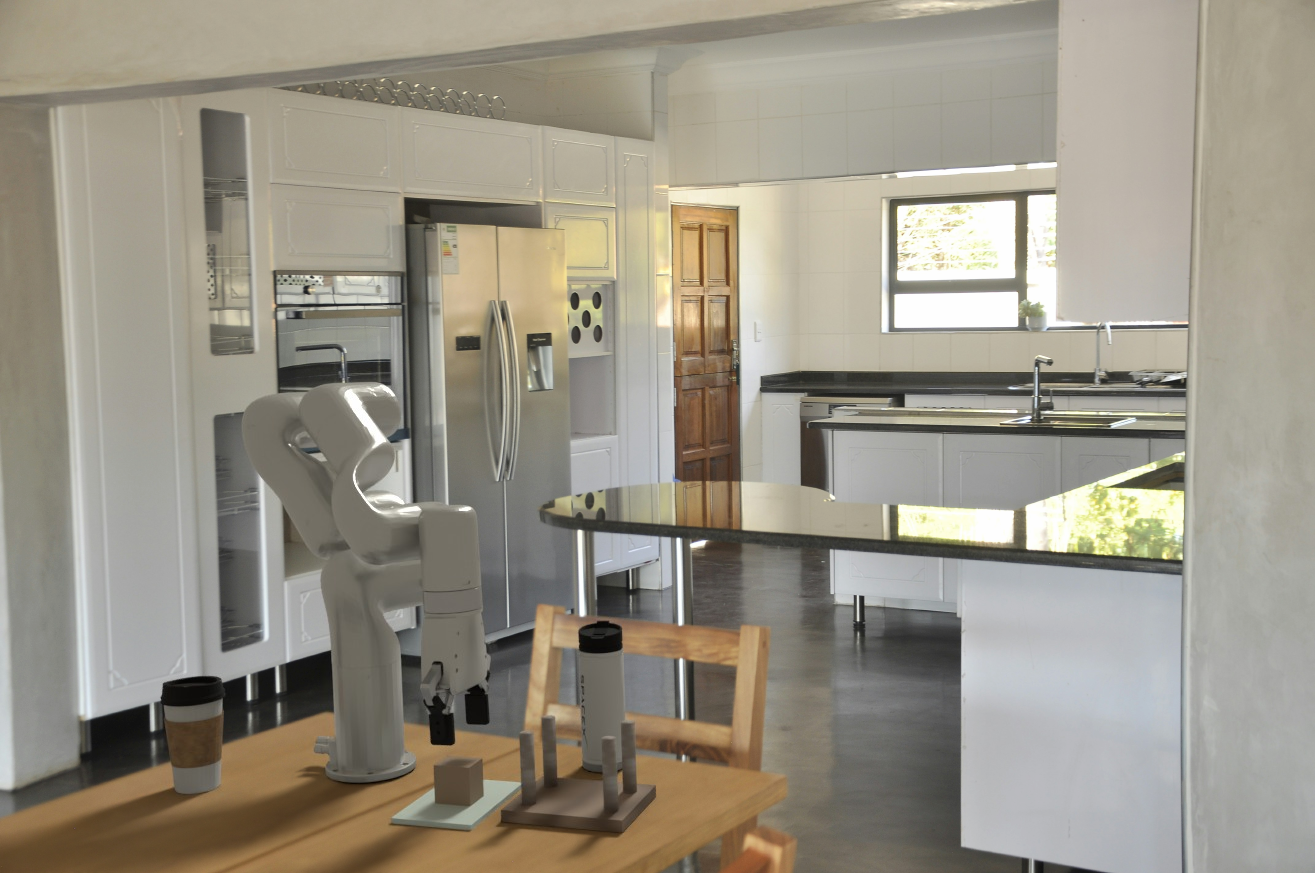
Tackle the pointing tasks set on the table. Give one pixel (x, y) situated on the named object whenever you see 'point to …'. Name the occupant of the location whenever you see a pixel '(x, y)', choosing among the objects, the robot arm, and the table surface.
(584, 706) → the travel mug
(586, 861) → the table surface
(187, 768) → the coffee cup
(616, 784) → the peg stand
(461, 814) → the shelf board
